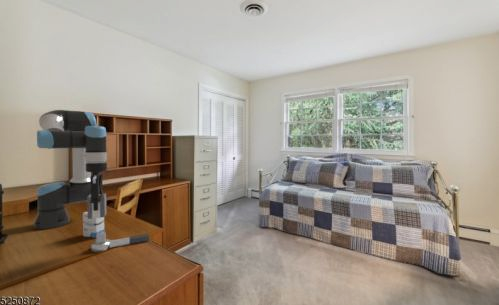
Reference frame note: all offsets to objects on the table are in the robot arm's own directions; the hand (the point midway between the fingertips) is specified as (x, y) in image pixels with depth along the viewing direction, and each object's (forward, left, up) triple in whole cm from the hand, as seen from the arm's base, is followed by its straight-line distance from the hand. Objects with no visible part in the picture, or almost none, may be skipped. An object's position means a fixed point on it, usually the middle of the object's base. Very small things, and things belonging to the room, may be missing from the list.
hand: (97, 215), depth 96 cm
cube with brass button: (0, 0, 0) cm, 0 cm away
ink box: (-18, -4, -15) cm, 24 cm away
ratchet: (0, +9, -15) cm, 17 cm away
